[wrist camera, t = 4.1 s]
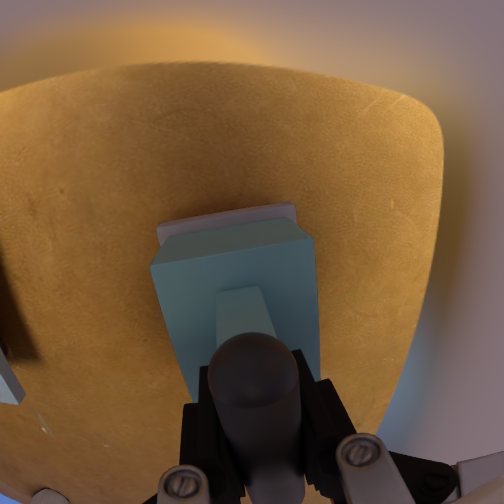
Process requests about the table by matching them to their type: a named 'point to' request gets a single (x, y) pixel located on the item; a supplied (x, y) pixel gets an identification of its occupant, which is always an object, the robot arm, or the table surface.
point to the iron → (245, 332)
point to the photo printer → (48, 497)
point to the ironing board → (9, 382)
